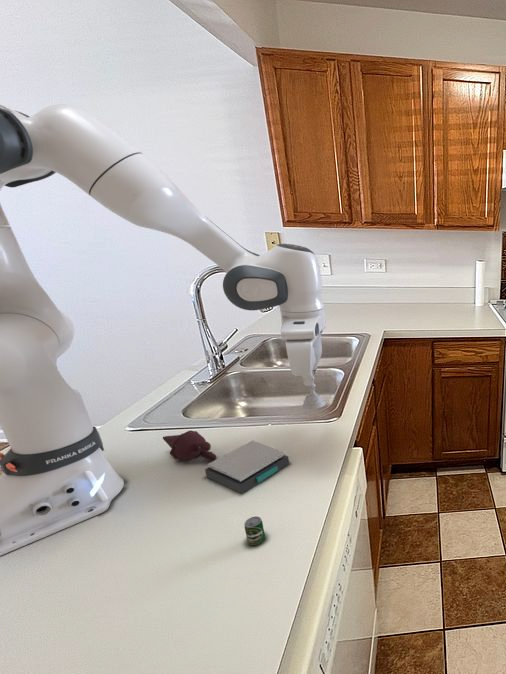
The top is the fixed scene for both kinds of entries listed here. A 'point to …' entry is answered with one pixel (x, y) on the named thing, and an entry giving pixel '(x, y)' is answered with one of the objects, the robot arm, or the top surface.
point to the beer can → (254, 530)
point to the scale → (249, 481)
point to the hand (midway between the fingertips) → (310, 378)
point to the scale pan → (246, 460)
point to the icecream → (189, 446)
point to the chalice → (313, 398)
